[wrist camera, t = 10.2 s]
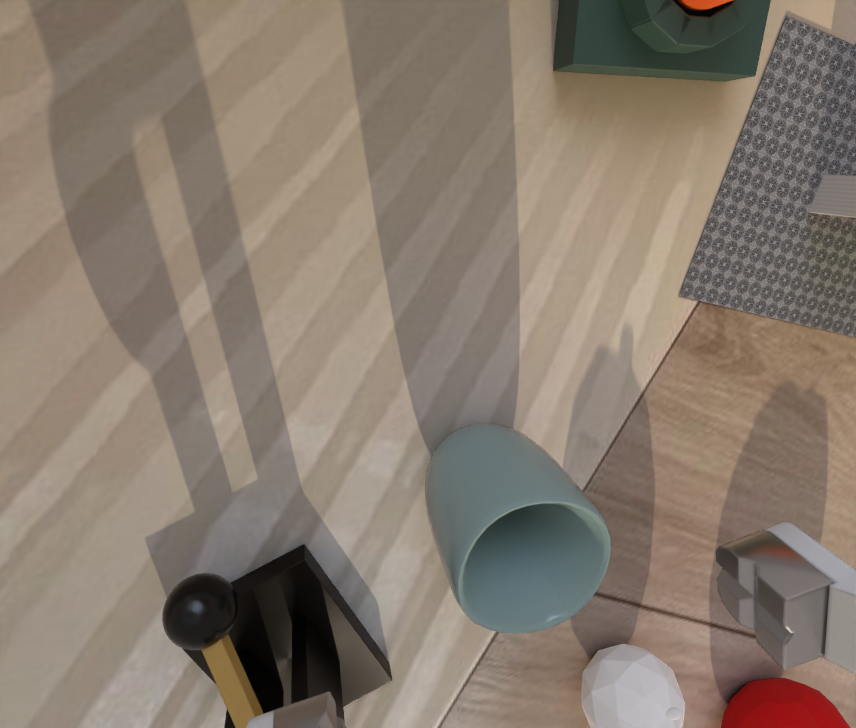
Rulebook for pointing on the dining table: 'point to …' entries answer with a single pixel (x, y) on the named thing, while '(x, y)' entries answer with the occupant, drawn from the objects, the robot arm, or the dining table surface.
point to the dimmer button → (701, 4)
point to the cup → (513, 530)
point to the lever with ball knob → (212, 637)
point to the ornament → (630, 690)
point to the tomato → (781, 707)
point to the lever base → (300, 637)
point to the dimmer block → (660, 38)
